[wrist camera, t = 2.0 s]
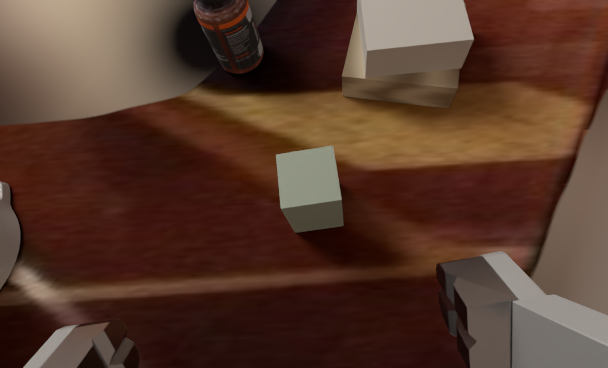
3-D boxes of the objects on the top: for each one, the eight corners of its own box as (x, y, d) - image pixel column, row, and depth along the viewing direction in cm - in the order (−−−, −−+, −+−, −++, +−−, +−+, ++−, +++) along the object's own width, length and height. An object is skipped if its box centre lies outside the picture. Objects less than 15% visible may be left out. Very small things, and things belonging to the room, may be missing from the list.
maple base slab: (342, 98, 42) (341, 76, 38) (360, 23, 46) (360, -4, 42) (447, 110, 39) (457, 88, 36) (455, 30, 43) (465, 2, 40)
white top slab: (365, 77, 37) (366, 50, 34) (357, 9, 41) (357, -22, 38) (461, 68, 36) (474, 39, 33) (444, -1, 40) (453, -34, 37)
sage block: (295, 232, 36) (280, 208, 28) (290, 188, 38) (276, 154, 30) (343, 225, 35) (341, 199, 28) (336, 181, 37) (332, 145, 30)
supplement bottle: (273, 49, 45) (250, -33, 35) (247, 83, 44) (214, 7, 33) (238, 34, 47) (206, -49, 37) (211, 65, 45) (170, -12, 35)
